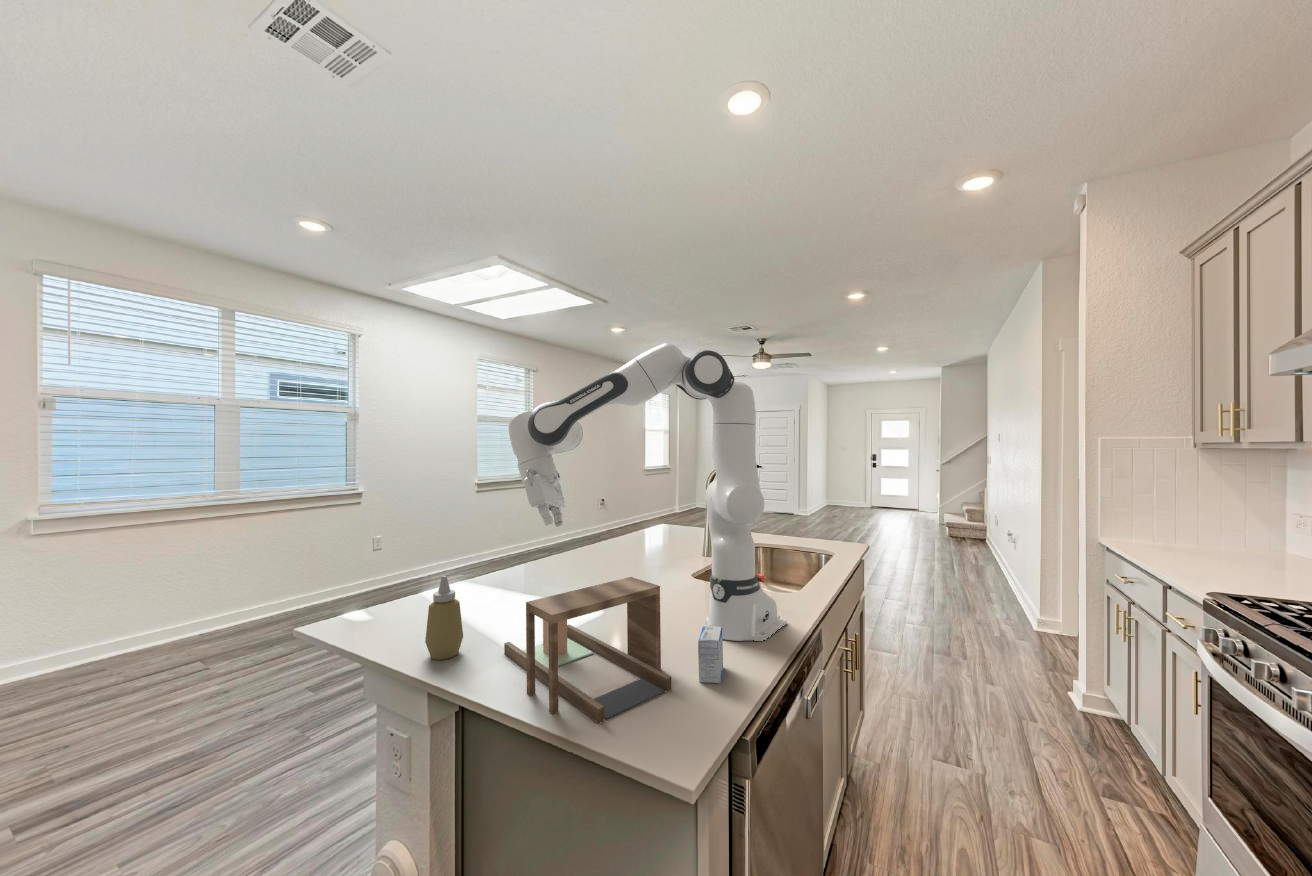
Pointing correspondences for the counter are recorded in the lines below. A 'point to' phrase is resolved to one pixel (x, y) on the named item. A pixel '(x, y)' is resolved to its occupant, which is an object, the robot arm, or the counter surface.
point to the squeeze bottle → (444, 623)
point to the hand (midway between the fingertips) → (555, 525)
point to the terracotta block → (561, 637)
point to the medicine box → (710, 654)
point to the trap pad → (628, 697)
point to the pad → (572, 654)
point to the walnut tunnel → (584, 601)
